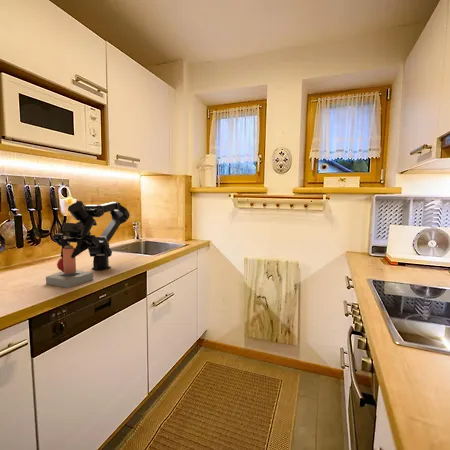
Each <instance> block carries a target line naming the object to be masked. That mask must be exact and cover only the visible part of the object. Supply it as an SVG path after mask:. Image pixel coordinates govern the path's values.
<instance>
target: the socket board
mask: <svg viewBox="0 0 450 450" xmlns="http://www.w3.org/2000/svg"><path fill="white" fill-rule="evenodd" d="M92 280H94V272H91V271H84V270H78V269H76V272H75V273H71V274H65V273H64V272H62V271H61V272H59V273H58V272H57V273H55V274H51V275H47V276H45V284H46V285H49V286H54V287H55V286H56V287H60V288H65V289H69V288H72V287H75V286H77V285H81V284H83V283H87V282H89V281H92Z"/></svg>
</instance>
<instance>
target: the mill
mask: <svg viewBox="0 0 450 450" xmlns="http://www.w3.org/2000/svg"><path fill="white" fill-rule="evenodd" d="M64 247H65V248H63V266H64V273H65V274H71V273H75V272H76V270H77V268H76V267H77V265H76V263H77V262H76V257H74V258H72V257H71V256H72V253H73V251H74V250H75V248H76V247H74V245H71V244H70V245H68V246H64Z"/></svg>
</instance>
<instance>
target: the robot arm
mask: <svg viewBox="0 0 450 450" xmlns="http://www.w3.org/2000/svg"><path fill="white" fill-rule="evenodd" d="M67 211H68V212H69V213H70V215H72V217H73V218H74V220H76V221H77V222H76V223H75V222H74V223H73V222H64V223H63V226H62V231H64V232H66V233H67V235H68V236H66V234H65V233H55V234H54V235H53V236H52V238H51V239H52V240H53V241H54V242H55V243H56V244H57V245H58V246H60V247H61V250H60V251H61V252H60V258H63V248H65V247H64V246H68V245H71V243H73V244H75V243H76V245H75V247H74V248H75V250H74V251H73V253H72V256H71V257H72V258H74V257H75V258H76V257H78V256H79V255H80V254H82V253H83V252H85V251H86V250H88V253H89V257H90V258H91V257H93V261H92V262H93V263H92V265H93V266H92V267H91V269H92V270H95V271H103V270H106V269H110V268H112V266H111V265H109V258H110V257H111V256H112V255H113V254H112V253H113V251H112V249H111V248H110V242H111V240H112V238H113V237H114V235H115V234H116V233H117V230H118V229H119V227H120V225H122V224H125V223H126V222H127V221H128V220H129V219H130V215H131V214H130V212H129V210H128V209H127V207H126V206H125V207H124V206H123V205H122V204H121V203H120V202H119V201H110V202H107V203H102V204H86V205H85V204H84V202H82V200H76V202H74V203H72V204H70V205H69V206H68V208H67ZM108 212H109V214H110V216H111V221H110V222H109V223H108V224H107V226H106V227H105V229H104V230H103V232H102V233H101V234H100V236H96V235H95V234H92V232H91V229H92V228H93V226H96V227H97V226H98V224H97V221H96V219H95V218H101V217H102V216H104V214H105V213H108Z"/></svg>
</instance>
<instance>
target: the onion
mask: <svg viewBox="0 0 450 450" xmlns="http://www.w3.org/2000/svg"><path fill="white" fill-rule="evenodd" d="M56 267H57V269H58V270H59V271H61V272H64V266H63V258H62V257H60V258H59V259H58V261H57V263H56Z"/></svg>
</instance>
